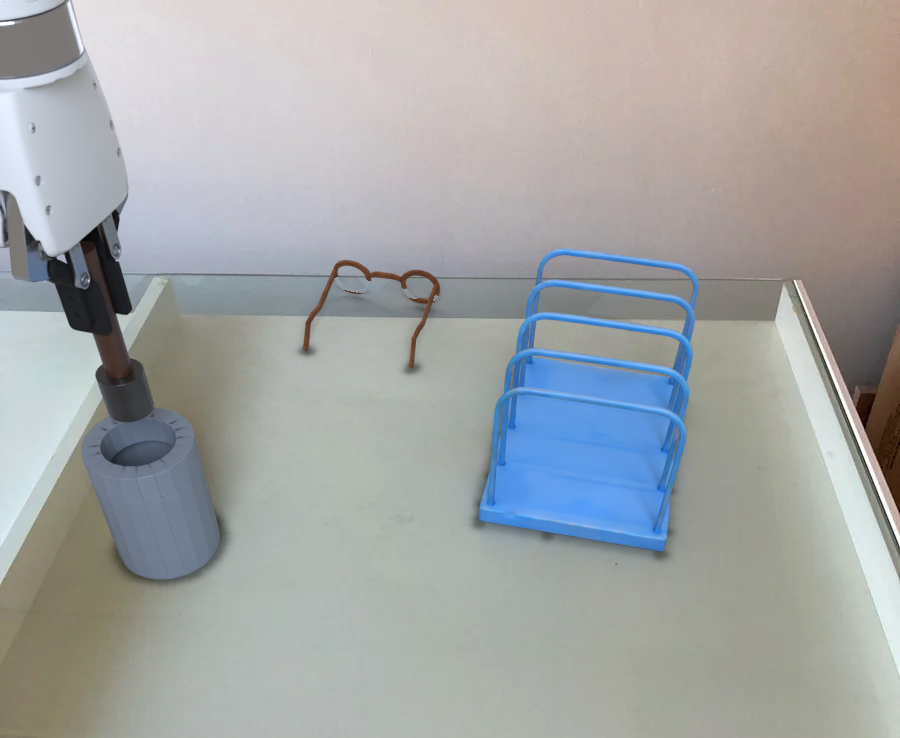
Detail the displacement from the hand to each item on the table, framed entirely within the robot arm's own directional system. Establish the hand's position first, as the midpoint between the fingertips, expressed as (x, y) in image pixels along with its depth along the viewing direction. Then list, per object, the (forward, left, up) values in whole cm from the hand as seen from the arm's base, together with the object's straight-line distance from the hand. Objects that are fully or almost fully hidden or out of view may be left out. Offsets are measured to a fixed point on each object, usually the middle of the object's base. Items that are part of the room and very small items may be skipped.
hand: (101, 318), depth 66 cm
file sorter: (+34, +24, -23) cm, 47 cm away
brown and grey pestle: (0, 0, -8) cm, 8 cm away
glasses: (+6, +38, -23) cm, 45 cm away
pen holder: (0, 0, -23) cm, 23 cm away
